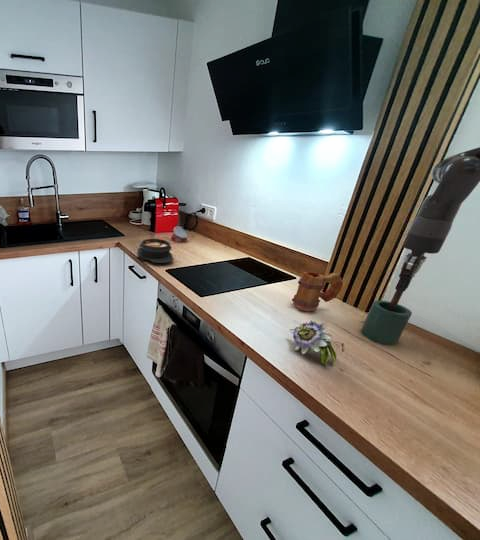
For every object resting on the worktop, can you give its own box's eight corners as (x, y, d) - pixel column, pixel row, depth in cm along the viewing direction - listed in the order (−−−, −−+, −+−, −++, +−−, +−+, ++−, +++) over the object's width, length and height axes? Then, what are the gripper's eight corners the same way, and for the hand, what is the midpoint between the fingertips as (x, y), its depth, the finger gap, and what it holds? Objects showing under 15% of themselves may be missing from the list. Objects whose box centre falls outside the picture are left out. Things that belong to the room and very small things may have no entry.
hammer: (386, 322, 93) (410, 271, 86) (396, 329, 89) (422, 277, 82) (371, 320, 93) (394, 270, 86) (380, 328, 89) (405, 276, 82)
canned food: (182, 245, 189) (190, 232, 186) (183, 248, 180) (192, 235, 177) (167, 236, 189) (176, 223, 186) (168, 239, 179) (176, 225, 176)
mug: (293, 312, 105) (305, 275, 99) (286, 301, 113) (296, 266, 107) (337, 317, 103) (351, 279, 97) (326, 305, 110) (339, 270, 104)
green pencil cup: (383, 329, 96) (396, 301, 92) (404, 346, 88) (420, 316, 84) (354, 327, 97) (366, 299, 93) (372, 343, 89) (386, 313, 85)
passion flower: (292, 364, 87) (279, 326, 89) (324, 356, 88) (311, 317, 90) (320, 370, 76) (304, 326, 78) (356, 360, 77) (340, 317, 79)
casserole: (130, 251, 161) (130, 237, 158) (159, 248, 167) (160, 234, 164) (148, 268, 140) (150, 252, 137) (181, 264, 146) (183, 248, 143)
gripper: (442, 241, 72) (412, 300, 79) (450, 233, 80) (422, 288, 87) (403, 234, 78) (378, 290, 85) (414, 227, 85) (390, 279, 92)
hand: (400, 288), depth 86 cm, fingers closed on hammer, 2 cm apart
